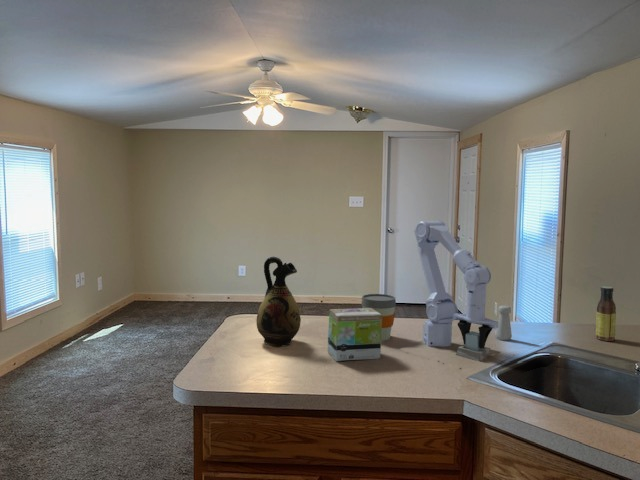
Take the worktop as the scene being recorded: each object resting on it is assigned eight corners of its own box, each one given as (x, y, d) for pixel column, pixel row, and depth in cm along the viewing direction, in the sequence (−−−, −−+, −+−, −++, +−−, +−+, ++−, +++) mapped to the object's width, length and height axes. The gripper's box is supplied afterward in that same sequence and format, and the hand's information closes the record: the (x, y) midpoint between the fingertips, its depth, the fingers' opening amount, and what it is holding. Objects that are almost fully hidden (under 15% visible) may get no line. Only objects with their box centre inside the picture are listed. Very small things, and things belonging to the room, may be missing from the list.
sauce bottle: (609, 337, 183) (613, 285, 182) (618, 342, 177) (622, 288, 175) (591, 336, 184) (595, 285, 182) (599, 341, 178) (603, 288, 176)
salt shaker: (493, 341, 175) (495, 306, 174) (495, 338, 180) (497, 303, 179) (510, 344, 172) (512, 308, 171) (512, 340, 177) (514, 305, 176)
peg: (476, 358, 154) (477, 336, 153) (465, 355, 156) (465, 334, 156) (482, 354, 156) (483, 333, 156) (471, 351, 159) (471, 331, 158)
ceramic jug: (308, 340, 173) (309, 256, 170) (287, 352, 159) (288, 261, 156) (267, 333, 180) (267, 253, 177) (243, 344, 166) (244, 258, 163)
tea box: (336, 362, 150) (337, 316, 149) (327, 352, 160) (328, 308, 158) (381, 359, 154) (382, 313, 153) (369, 349, 164) (371, 306, 162)
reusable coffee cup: (401, 340, 174) (402, 299, 173) (370, 343, 170) (371, 301, 168) (384, 331, 186) (385, 292, 185) (354, 334, 181) (355, 294, 180)
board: (475, 348, 167) (476, 338, 167) (501, 354, 161) (501, 344, 160) (454, 357, 157) (455, 347, 157) (481, 364, 151) (481, 353, 150)
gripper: (503, 306, 153) (501, 348, 154) (461, 298, 163) (459, 338, 164) (493, 309, 148) (491, 353, 149) (450, 301, 158) (449, 342, 159)
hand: (474, 345), depth 156 cm, fingers open, 5 cm apart
